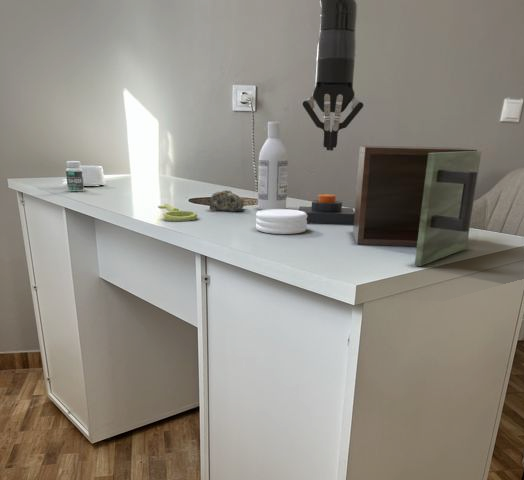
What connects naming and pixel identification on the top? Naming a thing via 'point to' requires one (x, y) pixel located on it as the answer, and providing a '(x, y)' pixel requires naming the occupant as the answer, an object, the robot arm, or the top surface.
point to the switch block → (328, 213)
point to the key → (177, 214)
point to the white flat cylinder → (281, 221)
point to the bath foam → (272, 171)
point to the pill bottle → (74, 176)
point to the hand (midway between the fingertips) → (329, 150)
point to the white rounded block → (92, 175)
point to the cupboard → (391, 193)
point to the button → (327, 198)
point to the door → (447, 204)
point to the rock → (226, 201)
